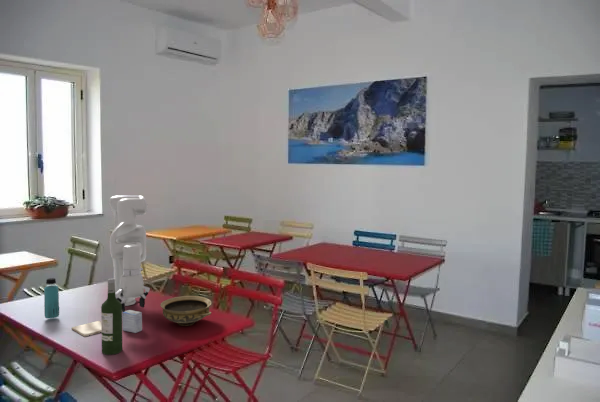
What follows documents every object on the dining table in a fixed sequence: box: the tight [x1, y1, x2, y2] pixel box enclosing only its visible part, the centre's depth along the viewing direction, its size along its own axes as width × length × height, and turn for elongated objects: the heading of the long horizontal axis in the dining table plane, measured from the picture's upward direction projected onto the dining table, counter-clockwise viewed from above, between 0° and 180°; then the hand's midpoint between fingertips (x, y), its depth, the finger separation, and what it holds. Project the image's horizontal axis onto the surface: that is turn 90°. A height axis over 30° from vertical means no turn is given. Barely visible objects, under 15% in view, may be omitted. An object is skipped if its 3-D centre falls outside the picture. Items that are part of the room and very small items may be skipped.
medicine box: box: [122, 309, 143, 334], centre depth 220 cm, size 8×4×9 cm, turn 65°
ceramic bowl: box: [159, 295, 212, 327], centre depth 232 cm, size 30×24×10 cm
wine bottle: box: [100, 277, 123, 356], centre depth 195 cm, size 8×8×30 cm
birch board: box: [71, 320, 102, 338], centre depth 221 cm, size 13×13×1 cm
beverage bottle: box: [43, 277, 60, 319], centre depth 233 cm, size 6×7×20 cm
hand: (132, 309), depth 219 cm, fingers open, 9 cm apart
